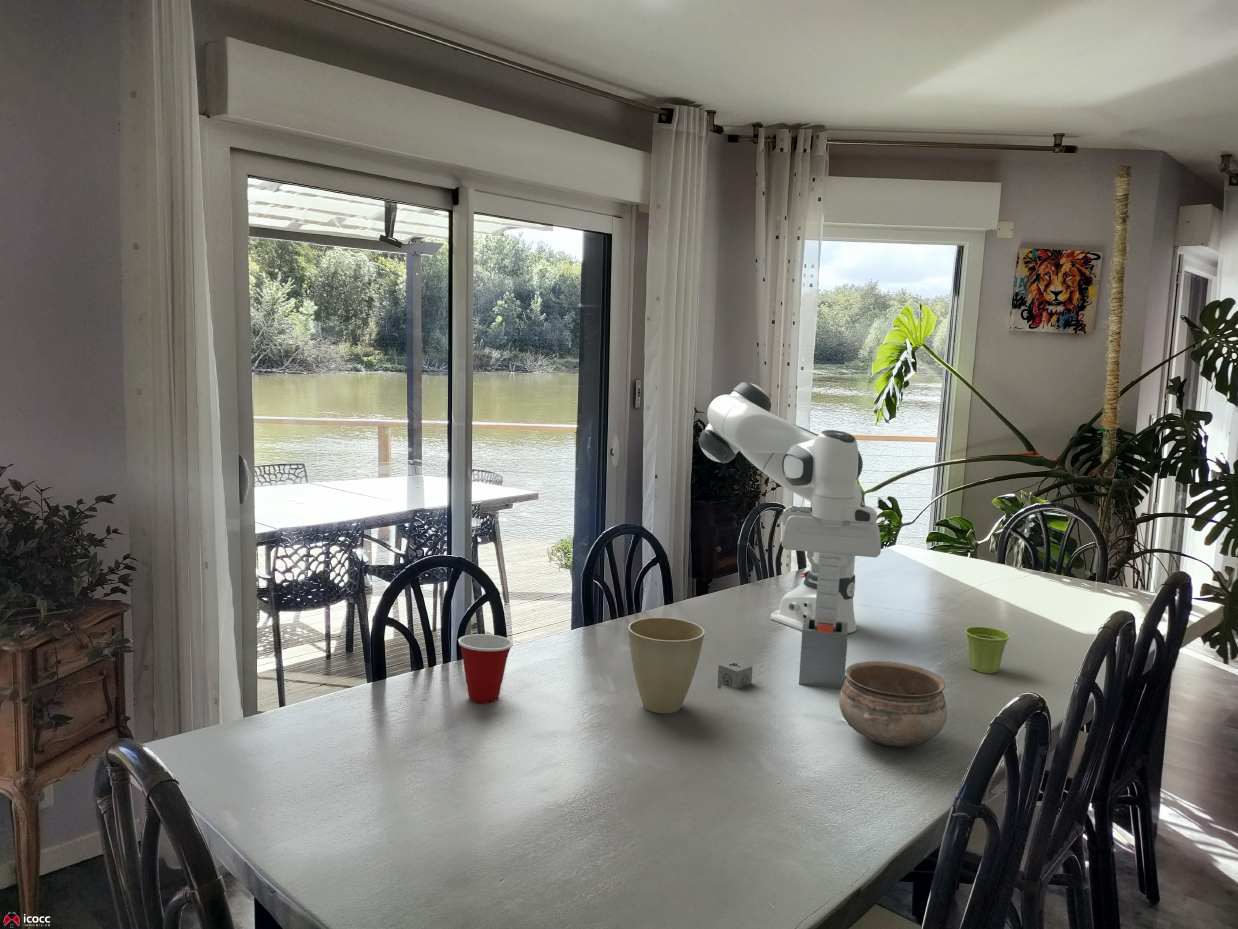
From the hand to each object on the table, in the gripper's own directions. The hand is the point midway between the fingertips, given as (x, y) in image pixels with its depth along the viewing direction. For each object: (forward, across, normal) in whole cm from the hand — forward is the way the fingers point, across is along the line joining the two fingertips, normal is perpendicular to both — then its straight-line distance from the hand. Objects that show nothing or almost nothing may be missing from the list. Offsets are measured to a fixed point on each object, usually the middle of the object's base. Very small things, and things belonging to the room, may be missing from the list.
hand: (828, 573), depth 190 cm
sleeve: (+24, 0, 0) cm, 24 cm away
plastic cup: (+25, -65, -30) cm, 75 cm away
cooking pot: (+24, +13, -25) cm, 38 cm away
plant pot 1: (+24, -30, -23) cm, 45 cm away
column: (+16, 0, 0) cm, 16 cm away
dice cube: (+25, -18, -8) cm, 31 cm away
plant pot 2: (+24, +36, +23) cm, 49 cm away
